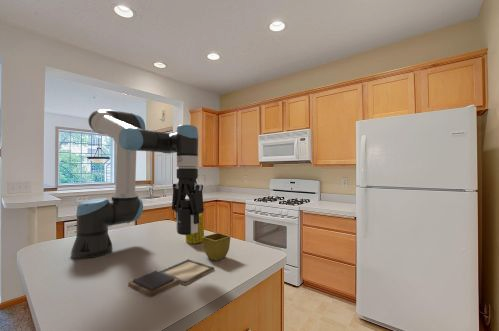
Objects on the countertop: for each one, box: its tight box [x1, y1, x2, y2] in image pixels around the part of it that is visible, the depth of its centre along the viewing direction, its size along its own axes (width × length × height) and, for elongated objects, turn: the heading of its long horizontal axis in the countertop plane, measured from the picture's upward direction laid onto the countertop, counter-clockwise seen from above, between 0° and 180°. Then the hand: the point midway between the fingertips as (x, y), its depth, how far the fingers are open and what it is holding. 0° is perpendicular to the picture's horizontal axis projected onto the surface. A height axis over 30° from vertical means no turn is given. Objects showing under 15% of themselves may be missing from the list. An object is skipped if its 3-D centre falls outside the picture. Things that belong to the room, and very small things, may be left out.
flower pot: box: [202, 232, 231, 261], centre depth 97 cm, size 9×9×9 cm
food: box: [184, 213, 205, 245], centre depth 119 cm, size 15×12×10 cm
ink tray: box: [127, 270, 179, 298], centre depth 75 cm, size 12×10×1 cm
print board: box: [158, 258, 215, 286], centre depth 84 cm, size 14×14×1 cm
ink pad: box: [132, 270, 174, 291], centre depth 75 cm, size 10×8×1 cm
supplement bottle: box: [176, 198, 196, 236], centre depth 84 cm, size 7×7×12 cm
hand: (187, 231), depth 84 cm, fingers closed on supplement bottle, 7 cm apart
